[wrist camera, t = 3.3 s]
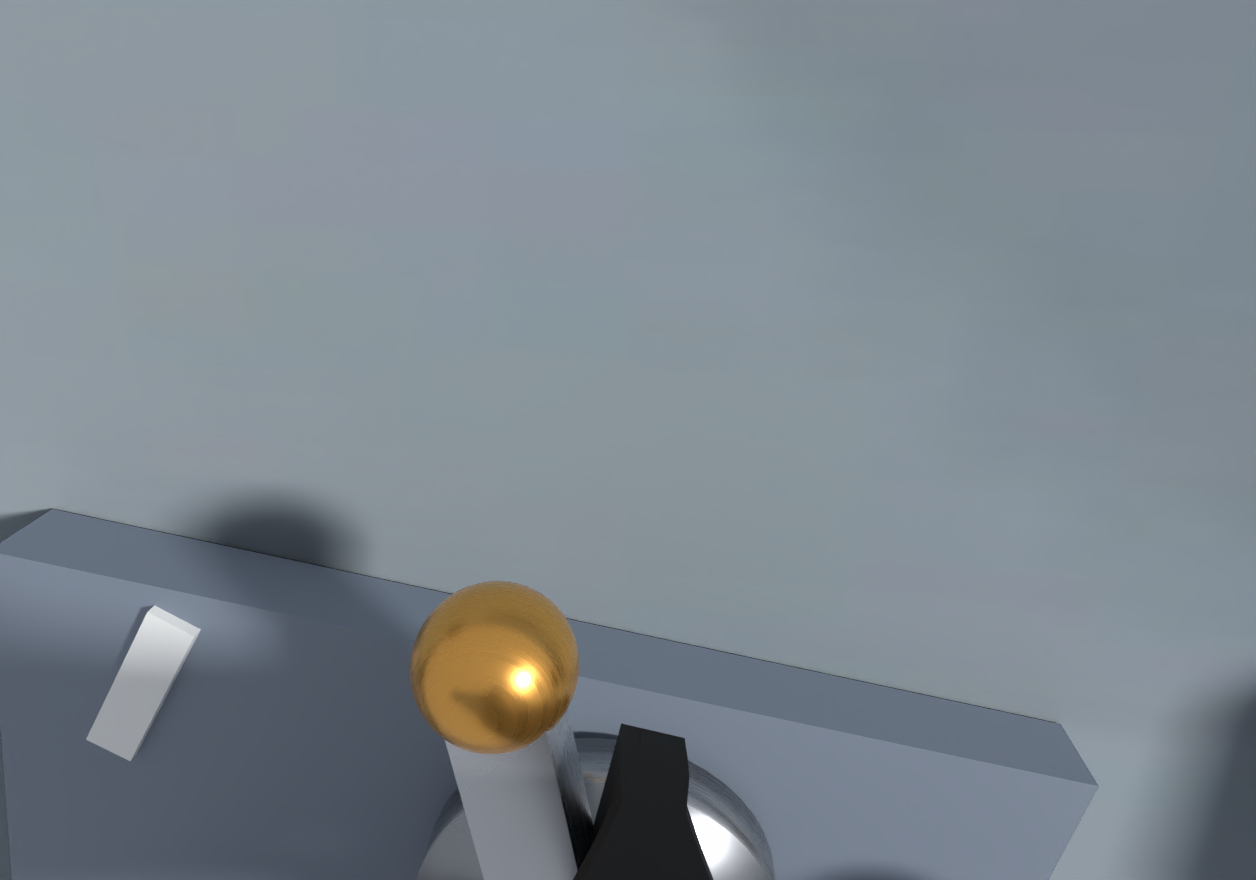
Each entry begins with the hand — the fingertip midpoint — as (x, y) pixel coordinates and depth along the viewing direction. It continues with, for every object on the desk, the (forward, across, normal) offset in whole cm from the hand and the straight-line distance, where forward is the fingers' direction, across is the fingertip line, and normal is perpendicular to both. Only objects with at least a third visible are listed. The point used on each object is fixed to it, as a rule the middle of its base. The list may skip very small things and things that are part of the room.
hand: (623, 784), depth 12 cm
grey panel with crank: (+4, +1, +8) cm, 8 cm away
